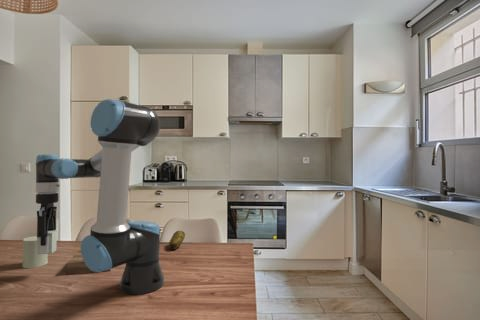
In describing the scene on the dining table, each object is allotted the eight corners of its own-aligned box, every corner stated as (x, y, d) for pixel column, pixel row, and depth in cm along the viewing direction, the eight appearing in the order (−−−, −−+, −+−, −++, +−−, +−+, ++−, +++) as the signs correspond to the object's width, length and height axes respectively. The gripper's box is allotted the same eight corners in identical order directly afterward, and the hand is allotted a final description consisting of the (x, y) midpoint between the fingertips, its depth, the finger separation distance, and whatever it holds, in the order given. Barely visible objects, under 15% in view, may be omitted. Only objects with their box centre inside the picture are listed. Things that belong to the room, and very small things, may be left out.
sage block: (51, 253, 112) (51, 233, 112) (37, 254, 110) (37, 234, 111) (56, 250, 116) (56, 230, 117) (42, 251, 115) (42, 231, 115)
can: (34, 269, 119) (35, 240, 119) (16, 267, 121) (17, 239, 121) (53, 261, 128) (53, 235, 128) (36, 260, 130) (36, 233, 130)
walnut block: (110, 271, 118) (110, 259, 118) (66, 275, 114) (67, 263, 114) (116, 259, 133) (116, 248, 133) (78, 262, 129) (78, 251, 129)
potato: (162, 249, 148) (162, 233, 148) (177, 243, 160) (177, 229, 160) (174, 251, 144) (174, 235, 144) (189, 245, 156) (190, 230, 156)
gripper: (49, 194, 106) (48, 257, 106) (65, 191, 124) (65, 244, 123) (26, 195, 104) (25, 259, 104) (45, 191, 122) (45, 246, 121)
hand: (47, 251), depth 113 cm, fingers closed on sage block, 5 cm apart
